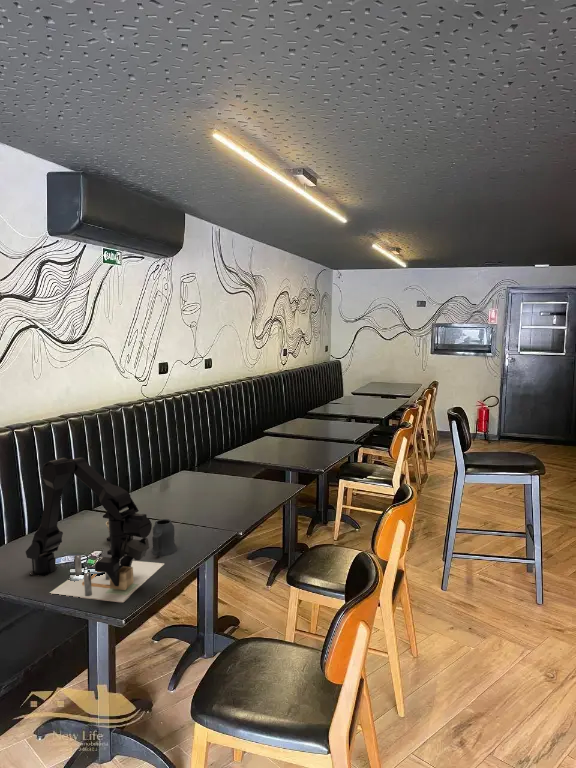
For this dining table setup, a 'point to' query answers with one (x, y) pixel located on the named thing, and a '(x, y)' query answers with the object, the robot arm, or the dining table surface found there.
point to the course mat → (107, 594)
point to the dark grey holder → (163, 538)
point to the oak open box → (124, 578)
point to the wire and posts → (88, 577)
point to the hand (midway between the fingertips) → (121, 582)
